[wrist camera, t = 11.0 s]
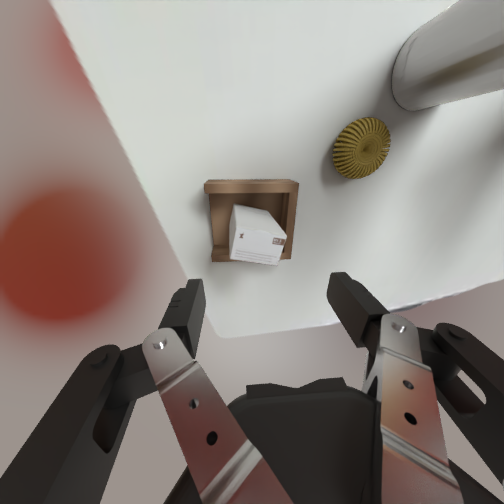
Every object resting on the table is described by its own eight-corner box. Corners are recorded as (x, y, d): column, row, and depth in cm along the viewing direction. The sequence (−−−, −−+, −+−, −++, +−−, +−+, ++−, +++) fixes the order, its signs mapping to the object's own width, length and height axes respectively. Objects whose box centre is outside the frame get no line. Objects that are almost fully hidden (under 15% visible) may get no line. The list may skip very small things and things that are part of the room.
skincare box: (228, 226, 33) (226, 262, 22) (233, 201, 31) (233, 225, 20) (263, 233, 34) (277, 269, 23) (270, 208, 32) (288, 235, 21)
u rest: (289, 179, 31) (298, 183, 26) (283, 246, 36) (290, 259, 32) (208, 179, 30) (203, 184, 25) (214, 248, 35) (212, 262, 31)
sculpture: (407, 146, 27) (361, 191, 29) (387, 147, 30) (347, 187, 33) (378, 98, 24) (329, 152, 26) (359, 106, 27) (317, 153, 30)
